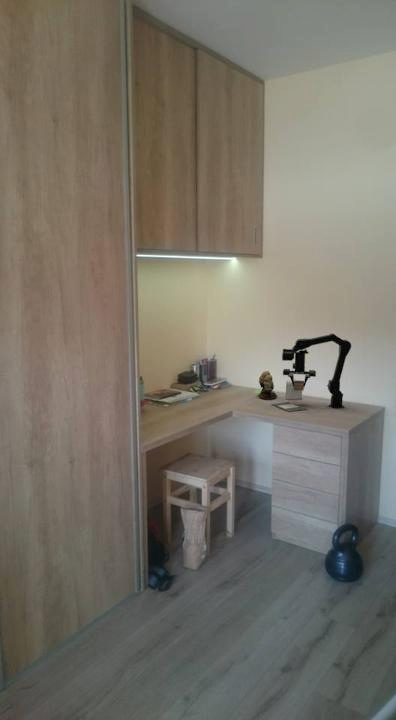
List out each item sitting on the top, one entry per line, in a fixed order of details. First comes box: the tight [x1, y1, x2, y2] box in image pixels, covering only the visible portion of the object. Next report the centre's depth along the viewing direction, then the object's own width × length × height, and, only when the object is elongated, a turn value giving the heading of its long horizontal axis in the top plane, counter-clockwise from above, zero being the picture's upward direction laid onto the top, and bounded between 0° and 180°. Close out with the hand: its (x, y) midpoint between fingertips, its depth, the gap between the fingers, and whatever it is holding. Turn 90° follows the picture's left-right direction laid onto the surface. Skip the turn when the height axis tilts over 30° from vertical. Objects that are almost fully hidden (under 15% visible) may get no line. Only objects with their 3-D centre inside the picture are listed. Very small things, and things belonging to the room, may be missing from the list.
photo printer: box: [285, 378, 303, 400], centre depth 325 cm, size 10×4×12 cm, turn 98°
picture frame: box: [271, 401, 307, 413], centre depth 305 cm, size 18×12×1 cm, turn 25°
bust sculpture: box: [258, 370, 278, 401], centre depth 329 cm, size 18×12×17 cm, turn 0°
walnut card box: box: [294, 380, 305, 392], centre depth 306 cm, size 8×6×4 cm
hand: (298, 387), depth 306 cm, fingers closed on walnut card box, 5 cm apart
